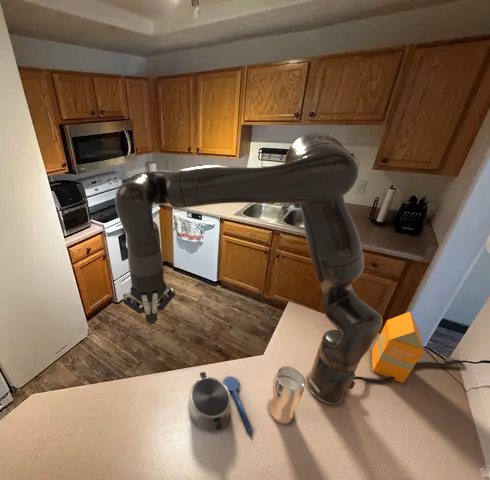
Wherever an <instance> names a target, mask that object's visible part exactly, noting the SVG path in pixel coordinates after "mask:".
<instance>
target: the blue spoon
mask: <svg viewBox="0 0 490 480" xmlns="http://www.w3.org/2000/svg"><path fill="white" fill-rule="evenodd" d="M223 383H224V384H225V385H226V387H227V388H228V390H229V392H230V394H232V395H233V397H234V400H235V403H236V406H237V407H238V410H239V413H240V415H241V417H242V419H243V423H244V425H245V427H246V430H247V432H248V433H252V432H253V427H252V426H251V423H250V420H249V418H248V416H247V413H246V410H245V408H244V406H243V404H242V401H241V399H240V397H239V394H238V390H239V387H240V382H239V381H238V379H236V378H235V377H234V376H228V377H226V378H225V379H224V380H223Z"/></svg>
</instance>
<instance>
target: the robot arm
mask: <svg viewBox="0 0 490 480" xmlns="http://www.w3.org/2000/svg"><path fill="white" fill-rule="evenodd" d="M358 176H359V166H358V163H357V161H356V159H355V158H354V156H353V155H352V154H351V152H350V151H349V150H348V149H347V148H346V147H344V145H342V143H341V142H340V141H338V140H337V139H336V138H334V137H333V136H331V135H329V134H327V133H321V132H310V133H306V134H303V135H302V136H300V137H299V138H297V139H296V140H295V141H294V142H293V143H292V144H291V145H290V147H289V148H288V150H287V152H286V155H285V158H284V163H281V164H276V165H271V166H261V167H259V166H258V167H244V166H232V165H223V164H210V165H207V164H206V165H200V166H194V167H187V168H183V169H176V170H171V171H170V170H162V171H161V170H158V171H156V170H155V171H145V172H140V173H136V174H134V175H132V176H131V177H130V178H128V179H127V180H126V181H124V182H123V183H122V184H121V185H120V186H119V187H118V188H117V190H116V193H115V200H114V201H115V202H114V203H115V209H116V213H117V216H118V218H119V221H120V223H121V226H122V229H123V231H124V233H125V237H126V244H127V245H126V247H127V260H128V261H127V262H128V263H127V264H128V268H129V275H130V281H131V282H130V283H131V287H130V289H129V290H130V291H129V292H128V293H123V295H122V299H123V302H122V303H123V304H124V305H125V306H126V307H128V308H130V309H131V310H133V311H134V312H135V313H137V314H138V315H141V314H144V315H145V321H146V323H147V324H149V325H155V324H156V322H157V321H158V311H163V310H164V309H165V308H166V307H167V306H168V305H169V303H170V302H171V301H172V300H173V298H175V296H176V292H175V288H174V286H167V283H166V282H165V277H164V276H165V275H164V274H165V273H164V263H163V262H164V261H163V259H164V258H163V253H162V247H161V235H160V234H161V233H160V228H159V226H158V223H157V222H156V221H154V218H153V207H154V206H156V205H157V206H158V205H167V204H169V205H170V206H171V207H173V208H175V209H186V208H195V207H204V206H210V205H219V204H220V205H221V204H241V203H243V204H244V203H245V204H247V203H248V204H249V203H250V204H251V203H252V204H255V203H256V204H294V205H295V204H296V205H299V206H300V210H301V213H302V219H303V227H304V233H305V239H306V243H307V247H308V252H309V256H310V261H311V263H312V267H313V270H314V271H315V275H316V278H317V282H318V284H319V289H320V292H321V293H320V294H321V300H322V301H321V302H322V308H323V309H322V310H323V313H324V315H325V317H326V319H327V320H328V321H329V323H331V325H332V326H333V327H334V328H335V329H330V330H327V331H326V332H325V333H323V335H322V337H321V341H320V343H319V346H318V349H317V352H316V355H315V359H314V361H313V364H312V367H311V370H310V372H309V376H308V377H307V380H306V384H307V388H308V390H309V392H310V393H311V394H312V395H313V396H314V398H316V399H317V400H318V401H320V402H321V403H323V404H327V405H331V406H332V405H333V406H334V405H338V404H340V403H342V401H343V399H344V397H345V396H346V395H347V393H348V391H349V390H352V389H354V387H355V384H356V382H355V380H359V381H360V380H362V381H364V382H371V383H373V382H374V383H386V382H390V381H395V380H394V379H395V378H394V377H389V378H388V377H384V378H369V377H368V378H367V377H363V376H356V374H355V372H356V370H357V368H358V366H359V364H360V361H361V360H362V358H363V357H364V356H365V355H366V354H367V353H368V351H369V349H370V348H371V347H372V344H373V343H374V341H375V340H376V338H377V336H378V334H380V332H381V329H382V328H383V323H384V322H383V317H382V315H381V314H380V313H379V312H378V311H376V310H375V309H374V308H373V307H372V306H370V305H369V304H368V303H367V302H365V301H364V300H363V299H362V298H360V296H358V295H357V294H356V292H355V291H354V289H353V285H352V284H353V283H355V282H356V281H357V280H358V279H359V278H360V277H361V275H362V274H363V272H364V269H365V256H364V251H363V249H364V248H363V245H362V240H361V237H360V234H359V232H358V229H357V226H356V224H355V222H354V220H353V217H352V215H351V212H350V210H349V208H348V206H347V204H346V201H345V198H344V196H345V195H346V194H347V193H349V192H350V191H351V189H352V188H354V186H355V184H356V182H357V180H358ZM460 361H461V360H460V359H455V360H454V359H453V360H451V361H448V362H432V361H431V362H430V361H417V362H416V364H415V366H414V367H416V366H438V367H444V366H445V367H446V366H451V365H454V364H460V365H462V363H461V362H460ZM459 362H460V363H459Z"/></svg>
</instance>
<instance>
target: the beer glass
mask: <svg viewBox="0 0 490 480" xmlns="http://www.w3.org/2000/svg"><path fill="white" fill-rule="evenodd" d="M305 386H306V380H305V377H304V376H303V374H302V373H301V372H300V371H299V370H298V369H296V368H295V367H292V366H289V365H285V366H284V365H283V366H281V367H279V368H278V369H277V370H276V374H275V377H274V380H273V384H272V401H271V402H270V404H269V412H270V415H271V416H272V418H273V419H274V420H275V421H277V422H278V423H280V424H289V423H291V421H292V420H293V418H294V410H295V408H297V406H298V405H299V404H300V402H301V400H302V398H303V395H304V391H305Z"/></svg>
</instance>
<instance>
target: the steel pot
mask: <svg viewBox="0 0 490 480" xmlns="http://www.w3.org/2000/svg"><path fill="white" fill-rule="evenodd" d="M199 377H200V378H199V379H198V380H196V381H195V382H194V383H193V385H192V386H191V389H190V392H189V412H190V415H191V418H192V420H193V422H194V423H195V424H196V425H197V426H199V428H202V429H203V430H206V431H219V430H222V429H223V428H224V426H226V424H227V422H228V420H229V417H230V412H231V404H232V396H231V392H229V390H228V388H227V387H226V385H225V384H224V381H222V380H220V379H218V378H215V377H212V376H207V373H206V371H201V372H199Z"/></svg>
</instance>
